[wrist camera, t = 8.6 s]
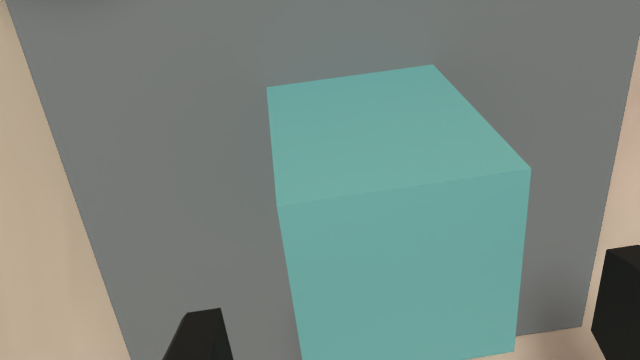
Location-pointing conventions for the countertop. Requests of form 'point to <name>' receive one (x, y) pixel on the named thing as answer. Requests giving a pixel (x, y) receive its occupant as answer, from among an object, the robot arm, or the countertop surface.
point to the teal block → (397, 218)
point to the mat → (255, 140)
